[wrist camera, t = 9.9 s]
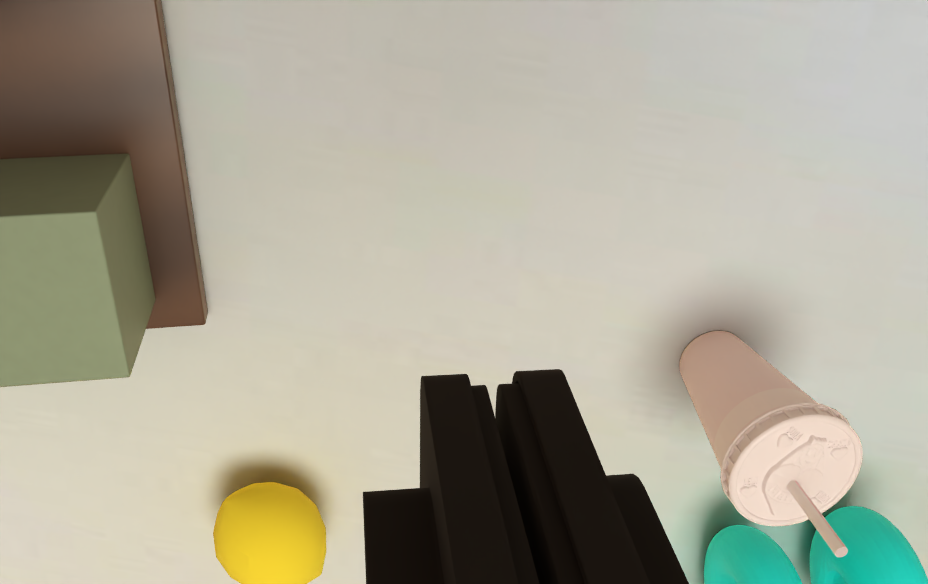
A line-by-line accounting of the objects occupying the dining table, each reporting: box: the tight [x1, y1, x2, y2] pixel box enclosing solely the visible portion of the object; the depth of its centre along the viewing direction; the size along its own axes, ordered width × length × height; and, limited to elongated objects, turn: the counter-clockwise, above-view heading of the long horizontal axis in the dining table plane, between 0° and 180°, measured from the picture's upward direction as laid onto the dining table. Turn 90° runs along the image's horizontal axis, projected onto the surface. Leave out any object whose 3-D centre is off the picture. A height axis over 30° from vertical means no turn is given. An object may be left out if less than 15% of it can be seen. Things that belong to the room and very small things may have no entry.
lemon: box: [213, 482, 326, 584], centre depth 46 cm, size 7×5×5 cm
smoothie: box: [679, 331, 863, 557], centre depth 42 cm, size 6×6×14 cm
